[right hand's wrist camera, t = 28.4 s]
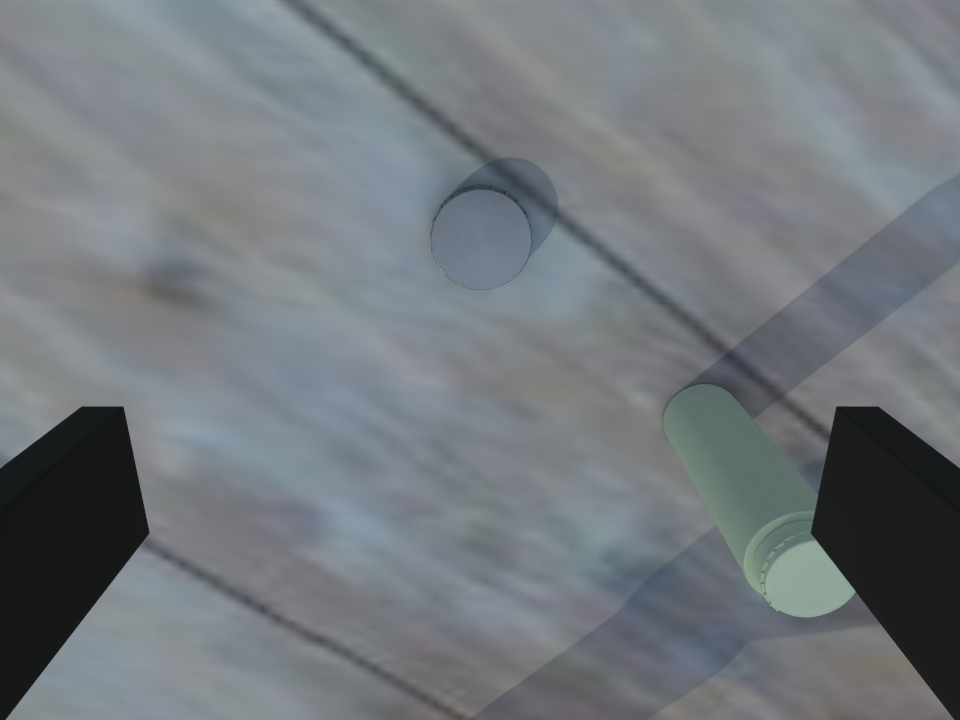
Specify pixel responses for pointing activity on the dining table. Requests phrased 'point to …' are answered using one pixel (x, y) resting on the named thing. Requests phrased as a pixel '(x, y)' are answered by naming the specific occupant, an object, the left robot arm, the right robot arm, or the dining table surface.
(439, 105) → the dining table surface
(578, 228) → the dining table surface
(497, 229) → the lid
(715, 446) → the bottle
